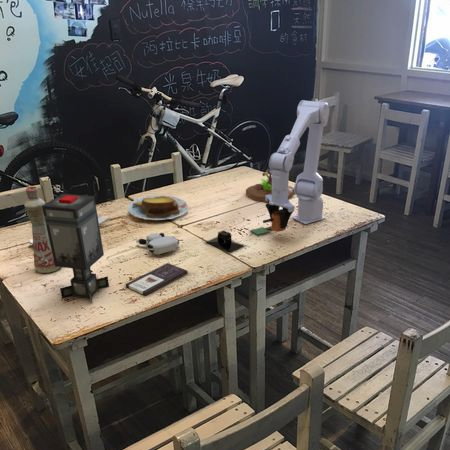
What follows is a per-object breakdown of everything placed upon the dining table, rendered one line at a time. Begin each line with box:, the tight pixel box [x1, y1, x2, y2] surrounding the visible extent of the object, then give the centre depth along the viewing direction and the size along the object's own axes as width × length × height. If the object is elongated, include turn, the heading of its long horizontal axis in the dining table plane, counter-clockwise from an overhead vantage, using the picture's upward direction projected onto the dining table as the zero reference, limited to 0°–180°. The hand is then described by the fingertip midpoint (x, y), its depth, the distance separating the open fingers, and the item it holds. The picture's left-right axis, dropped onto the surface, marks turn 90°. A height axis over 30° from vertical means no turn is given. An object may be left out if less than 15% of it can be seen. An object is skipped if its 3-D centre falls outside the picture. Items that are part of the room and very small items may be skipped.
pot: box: [262, 211, 287, 232], centre depth 181 cm, size 10×5×7 cm, turn 121°
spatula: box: [249, 225, 273, 237], centre depth 193 cm, size 14×5×1 cm, turn 121°
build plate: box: [205, 230, 245, 253], centre depth 181 cm, size 12×7×5 cm, turn 45°
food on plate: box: [127, 194, 189, 221], centre depth 210 cm, size 25×25×7 cm
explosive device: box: [42, 193, 110, 304], centre depth 147 cm, size 10×10×30 cm
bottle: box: [23, 185, 62, 274], centre depth 162 cm, size 9×9×28 cm
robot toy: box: [135, 232, 184, 255], centre depth 180 cm, size 12×4×15 cm
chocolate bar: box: [125, 262, 188, 296], centre depth 160 cm, size 9×1×18 cm
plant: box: [245, 170, 296, 204], centre depth 224 cm, size 20×20×11 cm
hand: (278, 225), depth 183 cm, fingers closed on pot, 5 cm apart
